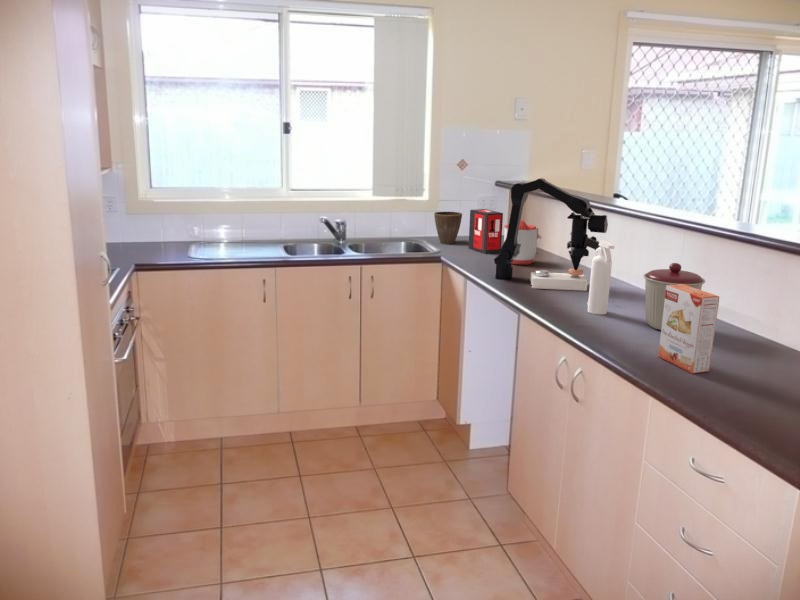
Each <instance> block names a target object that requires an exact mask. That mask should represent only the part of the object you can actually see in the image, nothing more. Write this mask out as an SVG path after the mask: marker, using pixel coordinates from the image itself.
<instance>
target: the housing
mask: <svg viewBox="0 0 800 600" xmlns="http://www.w3.org/2000/svg"><path fill="white" fill-rule="evenodd" d="M529 282H530V285H532V286H531V289H545V290H546V289H547V290H565V291H566V290H567V291H584V292H585V291H587V290H588V279H587V277H586V275H585V274H584V273H583V275H579V276H578V278H572V275H570V274H568V273H567V272H566V273H564V272H561V273H559V272H549V276H547V277H540V276H536V275H535V271H531V272H530V281H529Z"/></svg>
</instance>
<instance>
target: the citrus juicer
mask: <svg viewBox="0 0 800 600" xmlns="http://www.w3.org/2000/svg"><path fill="white" fill-rule="evenodd" d="M508 226H509V224H505V225H504V226H503V227H504V232H503V233H504V235H503V236H504V237H503V243H504V242H505V240H506V237H507V231H508ZM538 239H543V238H542V236H541V235H540V234H539V228H537V226H536V225H531V224H527V223H526V222H525V221H524V220H522V219H521V220H520V226H519V231H518V237H517V242H518V244H521V247H520V250H519V251H520V253H519V254H518V255H517V257H516V258H514V259H513V262H511V264H512V265H525V266H529V265H530V264H532V263H533V261H534V259H535V256H536V252H537V247H538V245H537V244H538Z"/></svg>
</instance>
